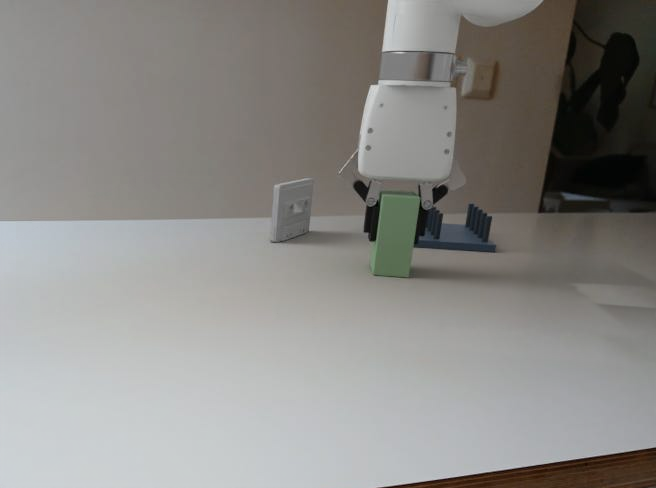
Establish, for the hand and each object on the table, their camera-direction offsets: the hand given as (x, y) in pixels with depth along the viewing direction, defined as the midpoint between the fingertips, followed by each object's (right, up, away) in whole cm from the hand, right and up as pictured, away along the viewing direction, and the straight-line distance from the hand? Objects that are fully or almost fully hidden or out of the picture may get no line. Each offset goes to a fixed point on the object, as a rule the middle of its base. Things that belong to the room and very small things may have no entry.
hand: (392, 239), depth 86 cm
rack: (+12, +4, +22) cm, 26 cm away
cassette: (-9, +3, +20) cm, 22 cm away
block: (0, -3, +1) cm, 4 cm away
